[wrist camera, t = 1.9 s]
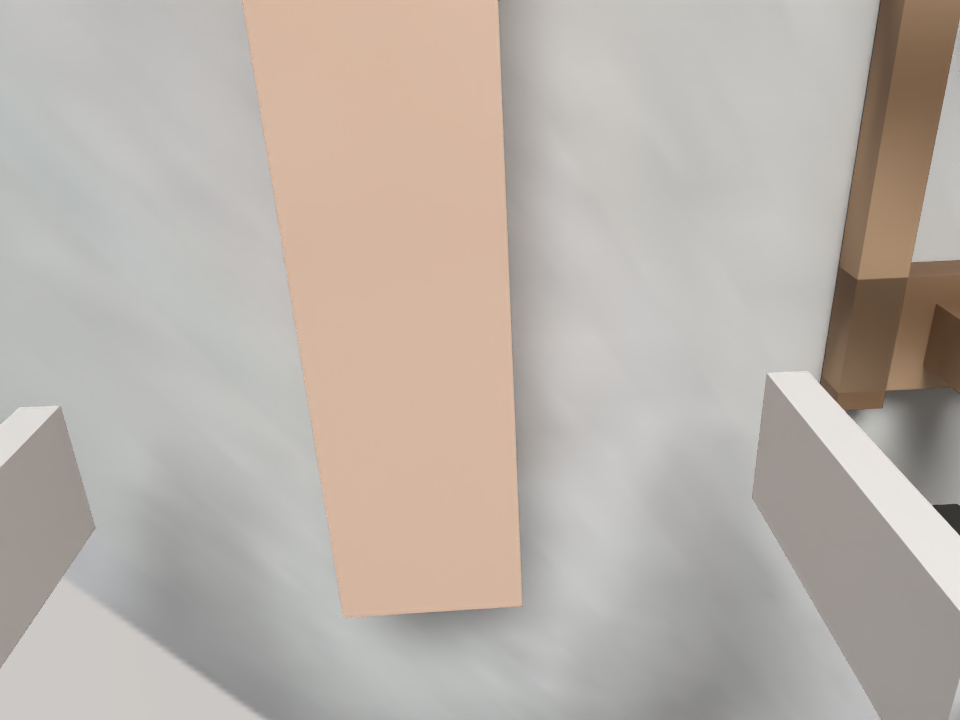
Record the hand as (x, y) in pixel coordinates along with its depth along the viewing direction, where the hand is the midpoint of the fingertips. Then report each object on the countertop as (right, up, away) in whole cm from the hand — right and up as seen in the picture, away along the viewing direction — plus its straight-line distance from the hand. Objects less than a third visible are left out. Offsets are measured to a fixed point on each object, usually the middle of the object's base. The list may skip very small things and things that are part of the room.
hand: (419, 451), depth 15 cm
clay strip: (-1, +6, +3) cm, 7 cm away
